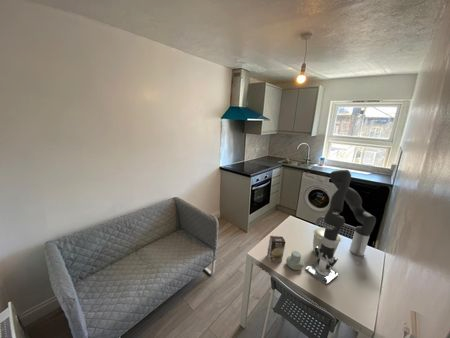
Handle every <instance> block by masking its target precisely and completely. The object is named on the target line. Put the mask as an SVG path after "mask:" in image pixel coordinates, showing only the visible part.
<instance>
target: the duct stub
mask: <svg viewBox="0 0 450 338" xmlns="http://www.w3.org/2000/svg"><path fill="white" fill-rule="evenodd" d="M329 260H330V259H329ZM326 266H327V260H326V258H324V257H323V256H320V261H319V266H318V268H319V270H321V271H323V272H326V271H327V270H326Z"/></svg>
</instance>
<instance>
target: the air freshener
mask: <svg viewBox="0 0 450 338" xmlns="http://www.w3.org/2000/svg"><path fill="white" fill-rule="evenodd" d="M301 258H302V253H300V252H299V251H296V250H294V251H292V252H291V254H290V255H289V256H287V257H286V260H285V263H286V265H287V266H288V267H289V268H290V269H292V270H294V271H301V270H302V269H303V268H304V261H303V260H302V259H301Z"/></svg>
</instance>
